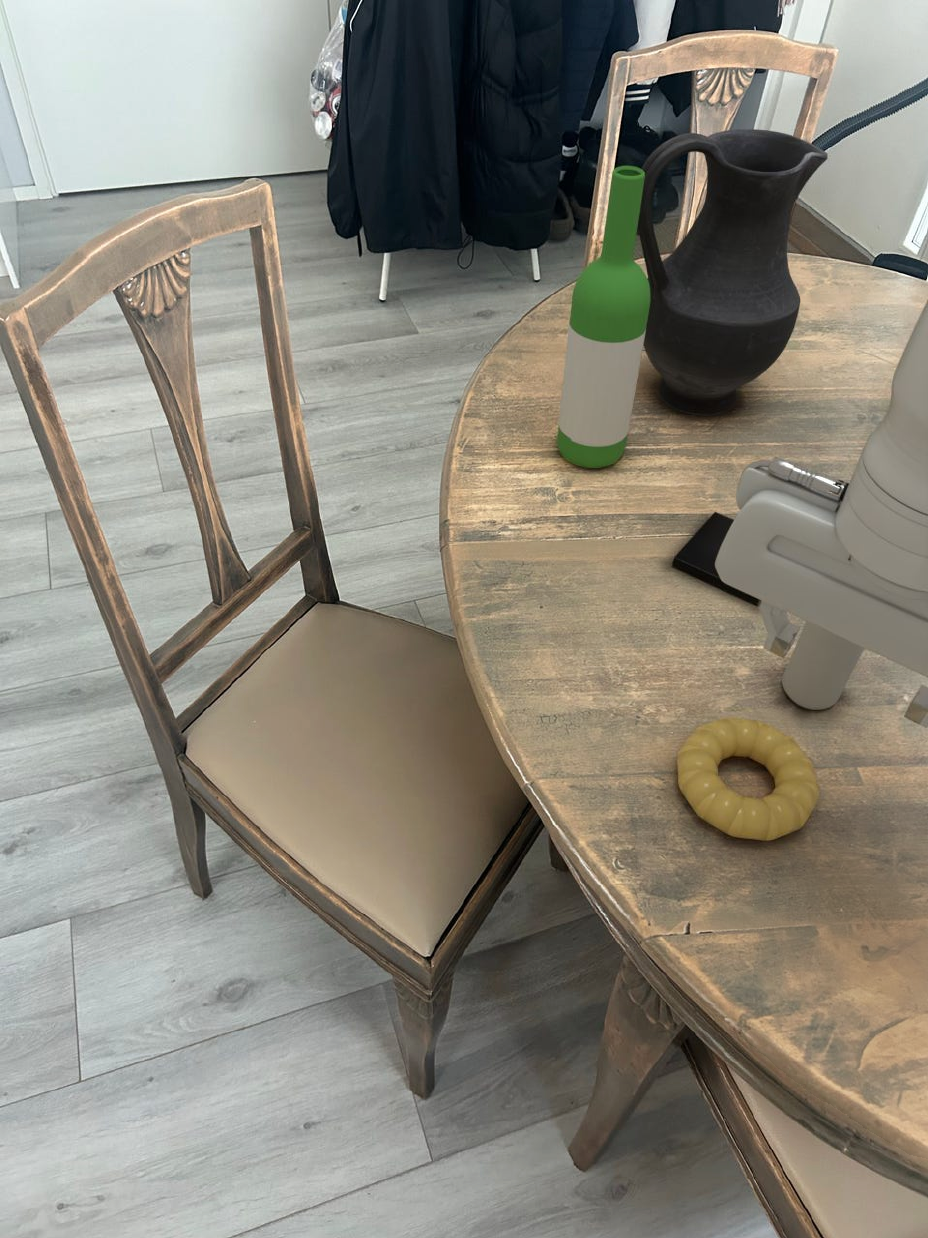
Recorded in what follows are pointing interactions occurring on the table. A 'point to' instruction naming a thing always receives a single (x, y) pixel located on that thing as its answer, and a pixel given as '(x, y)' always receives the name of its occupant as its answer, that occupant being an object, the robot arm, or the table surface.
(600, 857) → the table surface
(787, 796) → the ring doughnut
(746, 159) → the pitcher
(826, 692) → the beverage can
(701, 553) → the post
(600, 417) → the bottle
